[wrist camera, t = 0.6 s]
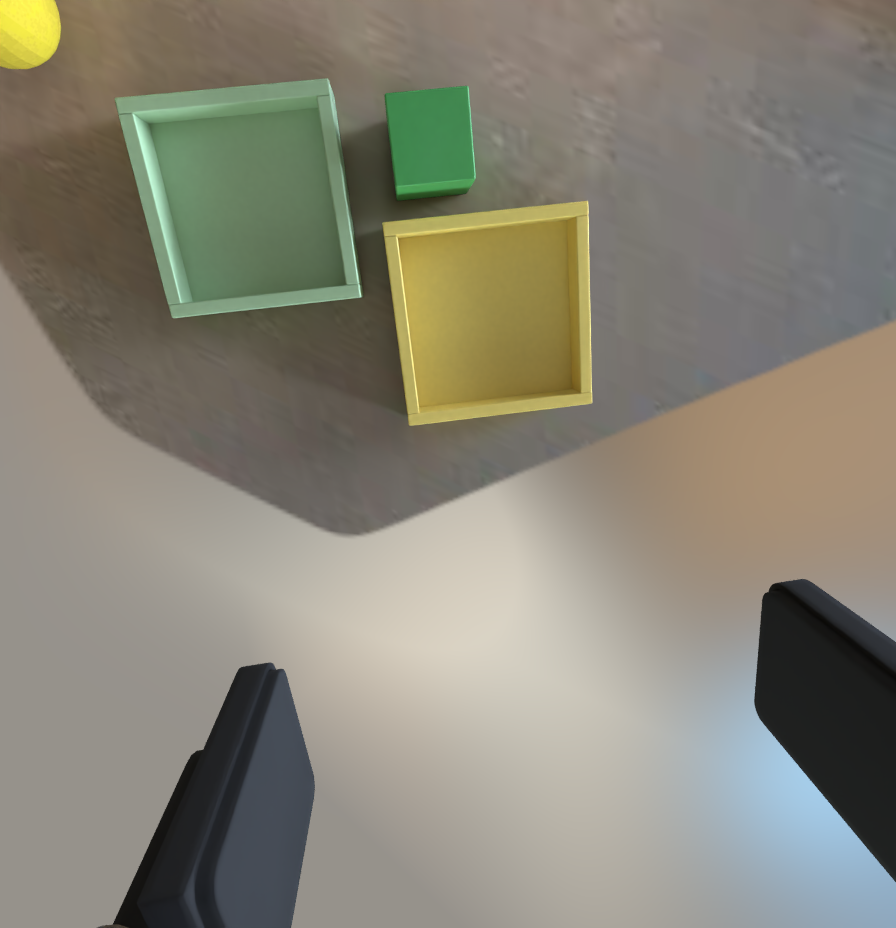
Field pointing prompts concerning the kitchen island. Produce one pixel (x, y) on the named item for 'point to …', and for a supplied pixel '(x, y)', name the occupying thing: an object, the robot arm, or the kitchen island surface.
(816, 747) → the robot arm
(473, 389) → the yellow tray
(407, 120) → the green cube
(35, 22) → the lemon
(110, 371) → the kitchen island surface
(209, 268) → the green tray
